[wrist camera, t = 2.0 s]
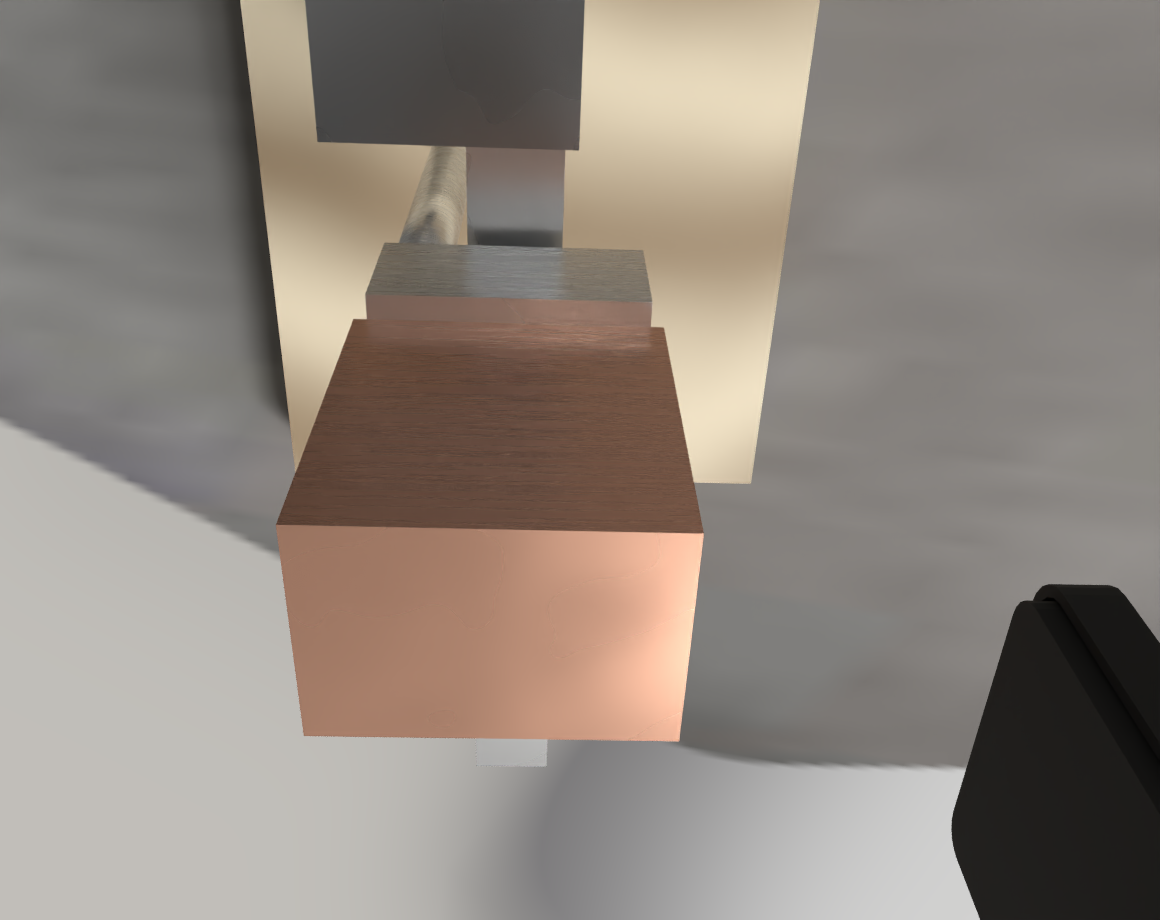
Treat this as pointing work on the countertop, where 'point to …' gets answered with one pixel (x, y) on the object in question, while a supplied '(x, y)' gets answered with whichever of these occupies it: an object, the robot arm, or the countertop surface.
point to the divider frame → (462, 121)
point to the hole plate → (575, 195)
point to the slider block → (494, 498)
